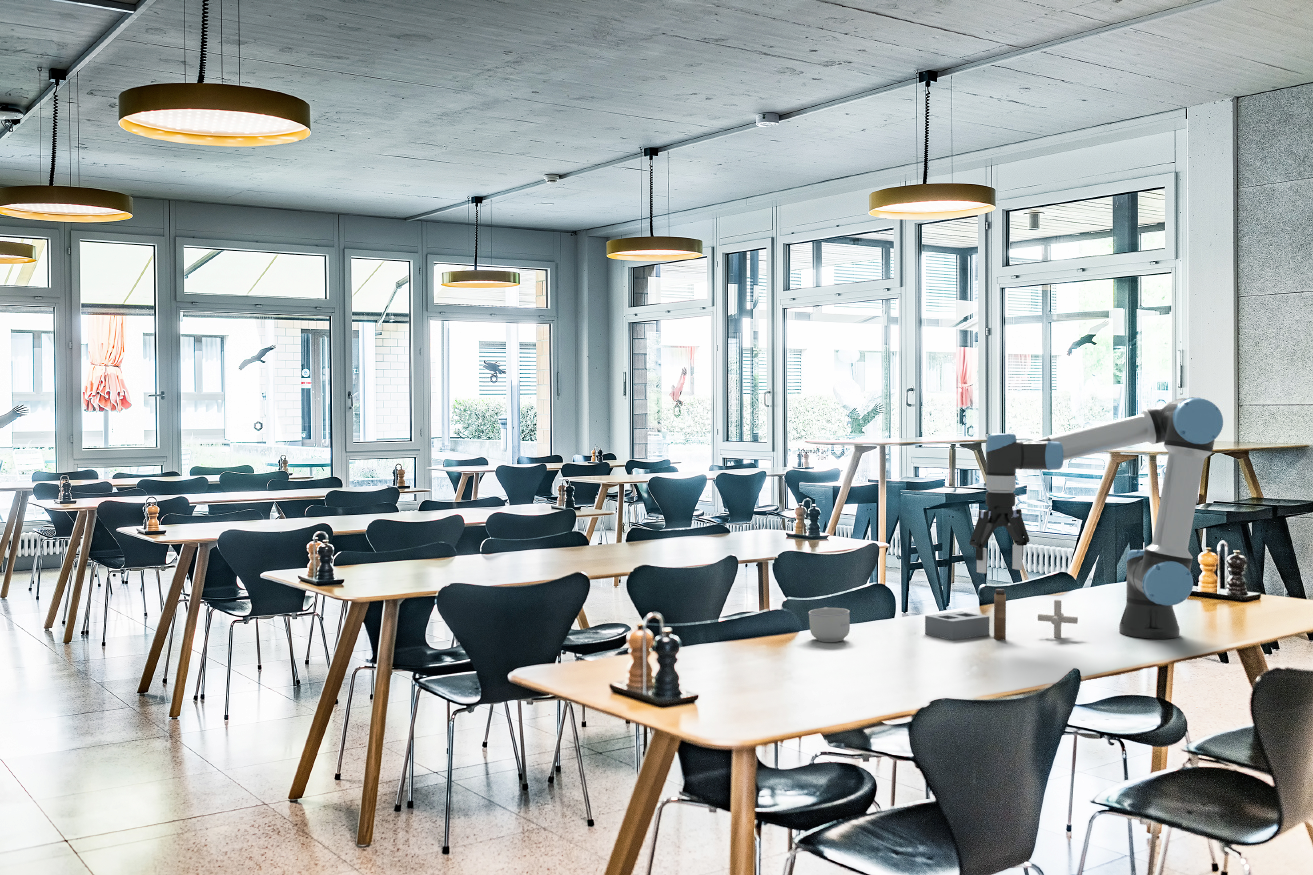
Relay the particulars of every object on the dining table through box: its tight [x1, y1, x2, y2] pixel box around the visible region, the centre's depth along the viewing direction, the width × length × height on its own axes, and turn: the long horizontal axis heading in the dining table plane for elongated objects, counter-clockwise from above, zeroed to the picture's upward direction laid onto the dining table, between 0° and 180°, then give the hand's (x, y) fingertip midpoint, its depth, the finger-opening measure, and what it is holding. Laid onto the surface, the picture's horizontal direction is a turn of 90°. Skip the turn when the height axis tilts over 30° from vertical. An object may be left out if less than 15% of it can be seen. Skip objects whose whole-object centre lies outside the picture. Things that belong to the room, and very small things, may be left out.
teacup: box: [807, 606, 851, 643], centre depth 311 cm, size 14×11×8 cm
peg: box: [993, 588, 1007, 641], centre depth 312 cm, size 3×3×13 cm
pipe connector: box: [1037, 599, 1079, 639], centre depth 314 cm, size 10×10×10 cm
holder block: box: [924, 611, 990, 641], centre depth 318 cm, size 10×14×5 cm
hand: (999, 571), depth 311 cm, fingers open, 13 cm apart
